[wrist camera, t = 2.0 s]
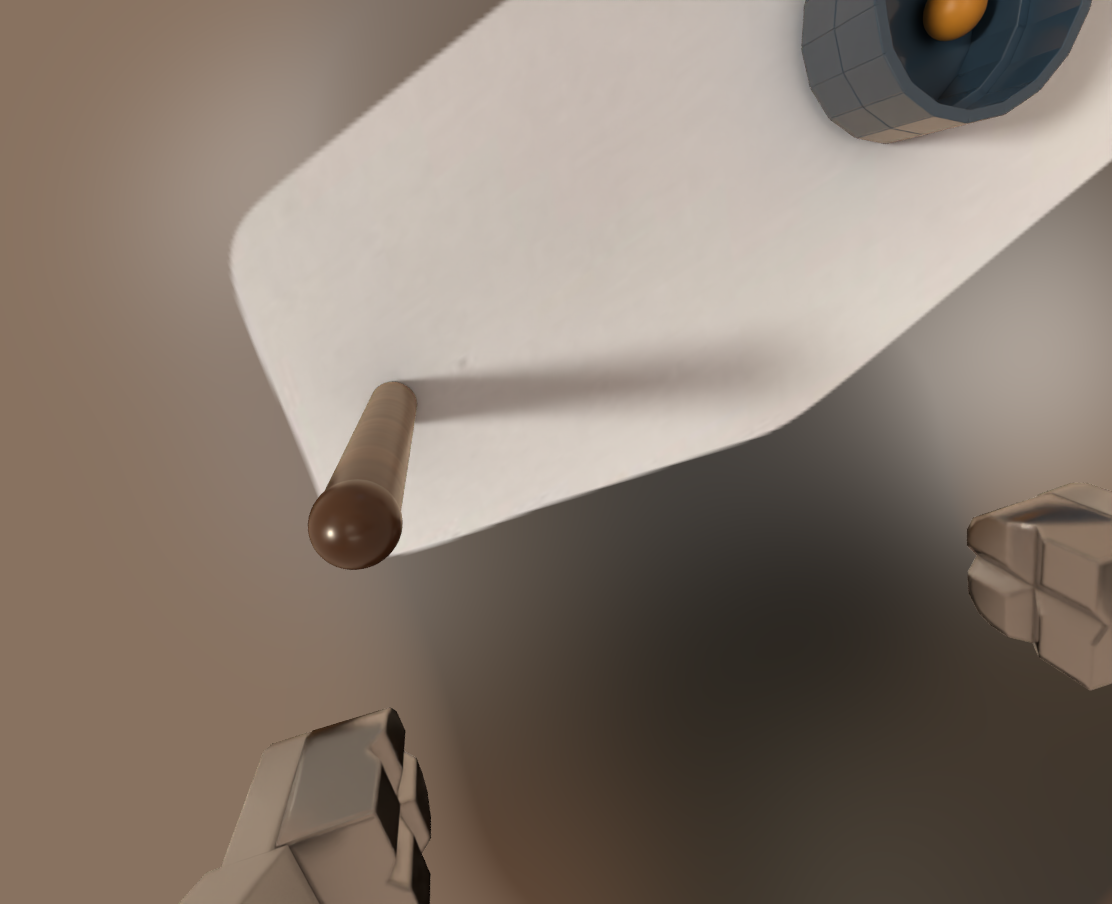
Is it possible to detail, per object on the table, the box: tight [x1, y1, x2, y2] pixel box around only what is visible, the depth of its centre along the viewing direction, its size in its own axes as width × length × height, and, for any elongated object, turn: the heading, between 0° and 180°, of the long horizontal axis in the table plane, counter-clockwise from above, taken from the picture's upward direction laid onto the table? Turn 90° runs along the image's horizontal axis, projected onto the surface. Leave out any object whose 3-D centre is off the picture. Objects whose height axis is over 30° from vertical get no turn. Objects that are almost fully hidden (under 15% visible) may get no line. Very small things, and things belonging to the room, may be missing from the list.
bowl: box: [802, 0, 1092, 144], centre depth 25 cm, size 10×10×6 cm
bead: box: [923, 0, 988, 41], centre depth 27 cm, size 2×2×2 cm
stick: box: [308, 382, 417, 570], centre depth 22 cm, size 2×2×15 cm
